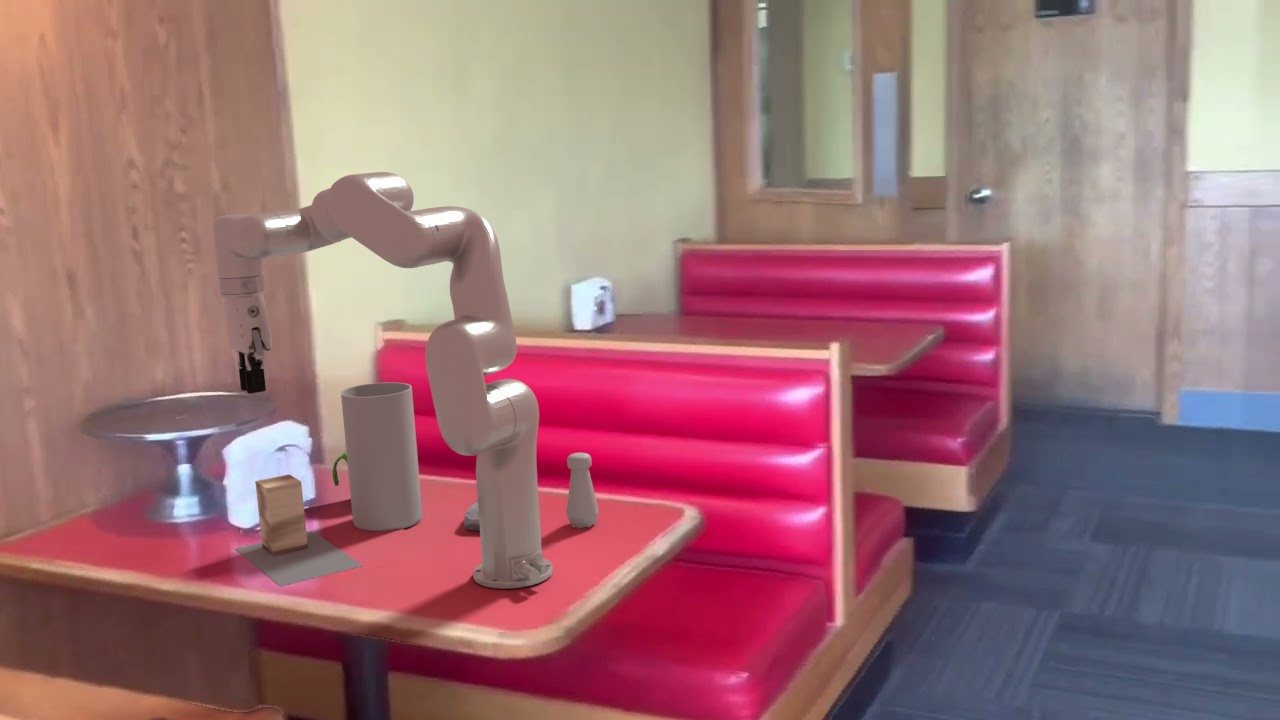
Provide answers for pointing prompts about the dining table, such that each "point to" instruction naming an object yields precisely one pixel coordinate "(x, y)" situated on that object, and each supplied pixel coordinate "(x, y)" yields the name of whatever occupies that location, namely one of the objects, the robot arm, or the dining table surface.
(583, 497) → the salt shaker
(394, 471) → the cylinder vase
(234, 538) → the dining table surface
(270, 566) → the slate mat
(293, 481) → the birch block
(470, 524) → the stone block
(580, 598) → the dining table surface
